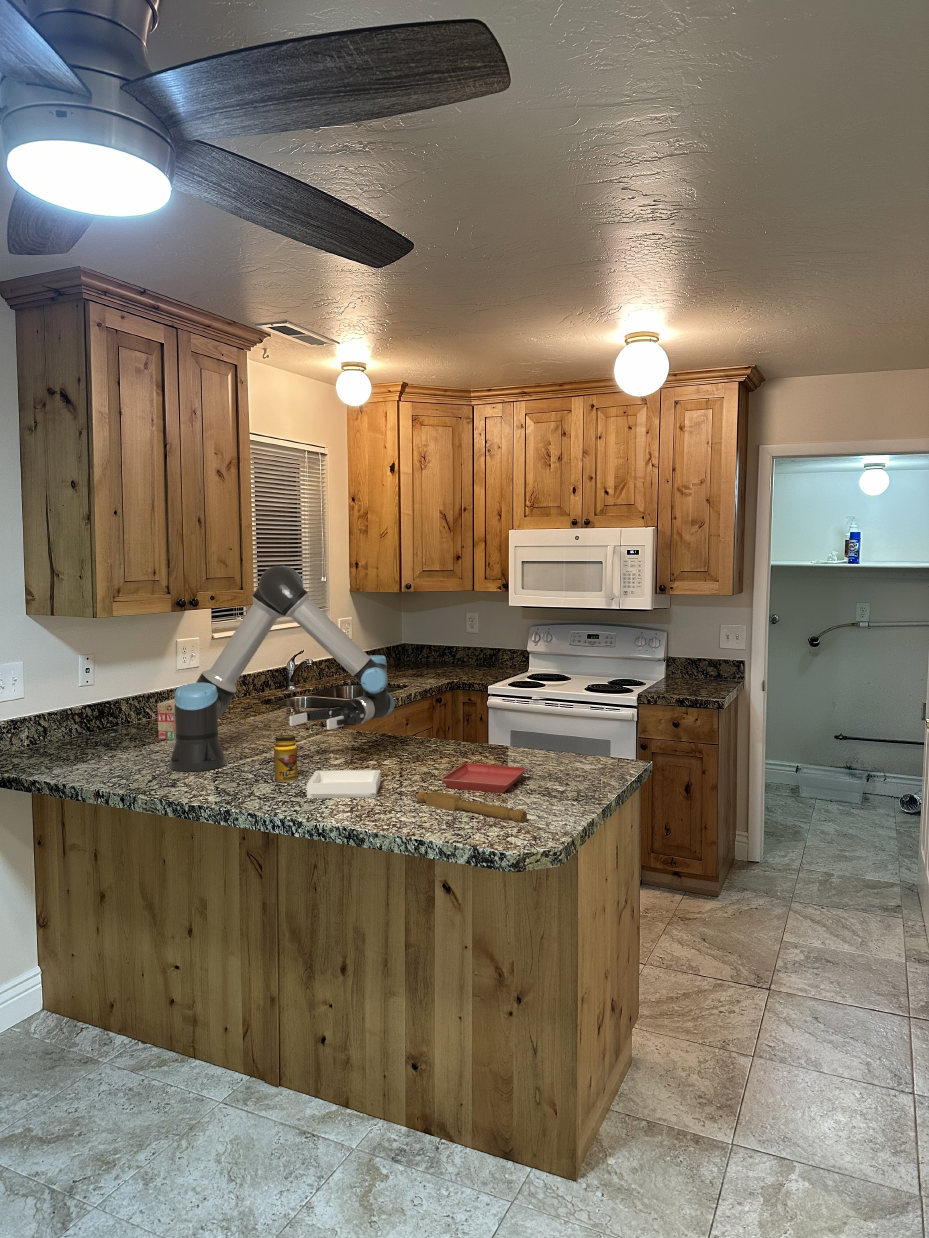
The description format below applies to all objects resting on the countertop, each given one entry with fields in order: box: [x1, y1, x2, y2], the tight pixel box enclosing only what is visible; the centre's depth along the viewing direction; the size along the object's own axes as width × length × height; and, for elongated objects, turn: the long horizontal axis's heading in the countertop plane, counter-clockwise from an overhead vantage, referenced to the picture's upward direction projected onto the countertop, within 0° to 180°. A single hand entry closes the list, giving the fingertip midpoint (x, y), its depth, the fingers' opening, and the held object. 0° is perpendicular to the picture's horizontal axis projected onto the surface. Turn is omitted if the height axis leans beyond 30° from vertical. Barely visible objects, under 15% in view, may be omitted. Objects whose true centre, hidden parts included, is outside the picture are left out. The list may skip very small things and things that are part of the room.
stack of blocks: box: [156, 698, 176, 741], centre depth 290 cm, size 21×6×12 cm, turn 168°
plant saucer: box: [440, 762, 527, 794], centre depth 218 cm, size 18×18×3 cm
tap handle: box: [416, 790, 528, 824], centre depth 193 cm, size 3×3×30 cm
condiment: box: [267, 734, 304, 784], centre depth 224 cm, size 7×8×12 cm
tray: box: [306, 769, 382, 799], centre depth 213 cm, size 17×14×4 cm
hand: (308, 722), depth 232 cm, fingers open, 13 cm apart
